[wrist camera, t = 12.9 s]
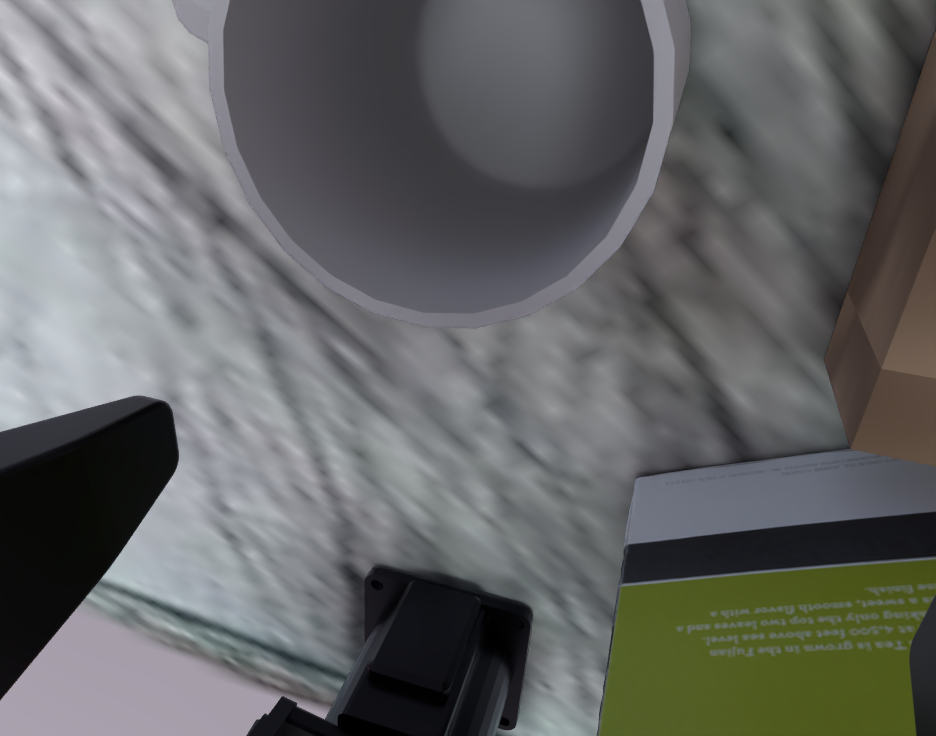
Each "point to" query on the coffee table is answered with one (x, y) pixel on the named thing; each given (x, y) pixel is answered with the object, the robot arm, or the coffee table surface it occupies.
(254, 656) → the coffee table surface
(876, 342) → the socket block
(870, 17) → the coffee table surface
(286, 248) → the cup
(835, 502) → the tea box
